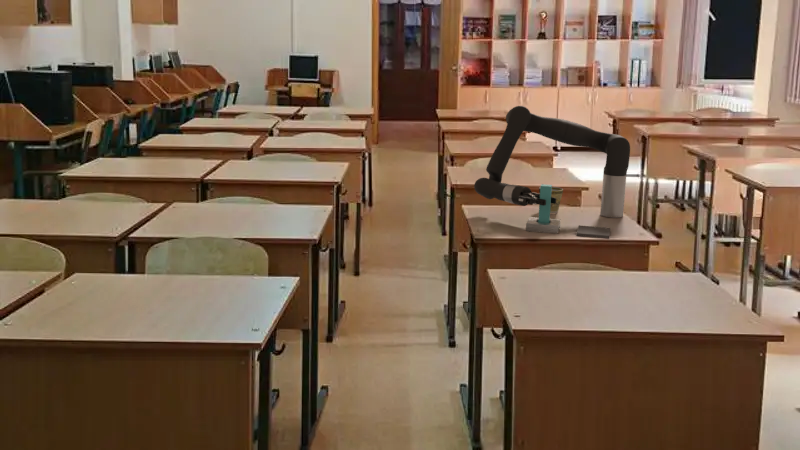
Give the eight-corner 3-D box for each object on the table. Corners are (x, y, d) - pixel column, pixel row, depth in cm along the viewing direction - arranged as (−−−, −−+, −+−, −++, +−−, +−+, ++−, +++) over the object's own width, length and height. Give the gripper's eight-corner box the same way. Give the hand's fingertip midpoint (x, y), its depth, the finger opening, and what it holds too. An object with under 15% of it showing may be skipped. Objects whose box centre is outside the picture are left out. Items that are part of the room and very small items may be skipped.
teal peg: (539, 222, 360) (541, 184, 357) (549, 223, 359) (552, 184, 356) (538, 224, 356) (540, 185, 353) (548, 225, 355) (551, 186, 352)
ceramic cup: (557, 215, 383) (559, 191, 381) (534, 212, 388) (535, 189, 385) (566, 210, 395) (568, 186, 393) (543, 207, 399) (545, 184, 397)
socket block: (529, 224, 365) (529, 216, 364) (560, 226, 362) (560, 219, 362) (525, 230, 354) (526, 223, 353) (557, 233, 351) (558, 225, 350)
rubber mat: (578, 227, 362) (578, 225, 362) (610, 230, 359) (610, 227, 359) (576, 235, 348) (576, 233, 348) (609, 238, 346) (609, 235, 346)
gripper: (505, 187, 360) (538, 194, 348) (529, 183, 370) (563, 190, 358) (504, 206, 362) (537, 213, 350) (528, 202, 371) (562, 209, 359)
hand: (550, 201), depth 354 cm, fingers closed on teal peg, 5 cm apart
